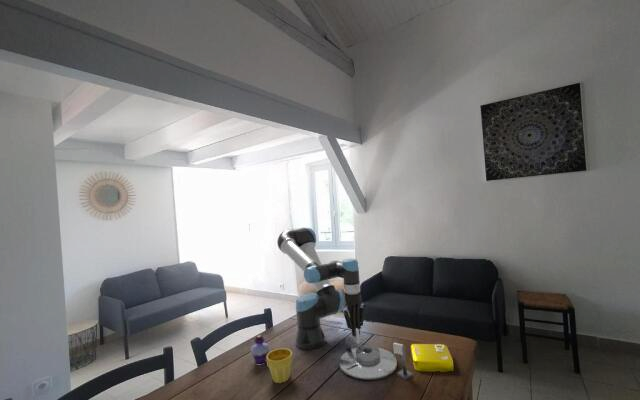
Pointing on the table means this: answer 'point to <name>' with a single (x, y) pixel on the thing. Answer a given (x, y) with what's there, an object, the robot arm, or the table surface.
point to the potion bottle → (260, 350)
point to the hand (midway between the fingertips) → (356, 342)
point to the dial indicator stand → (401, 350)
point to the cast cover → (368, 356)
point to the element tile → (431, 357)
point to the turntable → (368, 373)
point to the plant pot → (279, 364)
